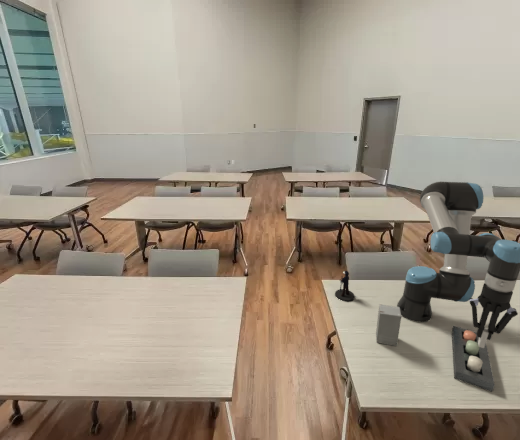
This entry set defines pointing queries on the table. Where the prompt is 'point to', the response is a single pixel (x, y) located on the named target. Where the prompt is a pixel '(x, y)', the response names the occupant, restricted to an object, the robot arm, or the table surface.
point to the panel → (461, 359)
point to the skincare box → (388, 324)
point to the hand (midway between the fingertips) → (480, 345)
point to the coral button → (469, 335)
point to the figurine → (342, 293)
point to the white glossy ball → (474, 363)
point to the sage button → (472, 347)
